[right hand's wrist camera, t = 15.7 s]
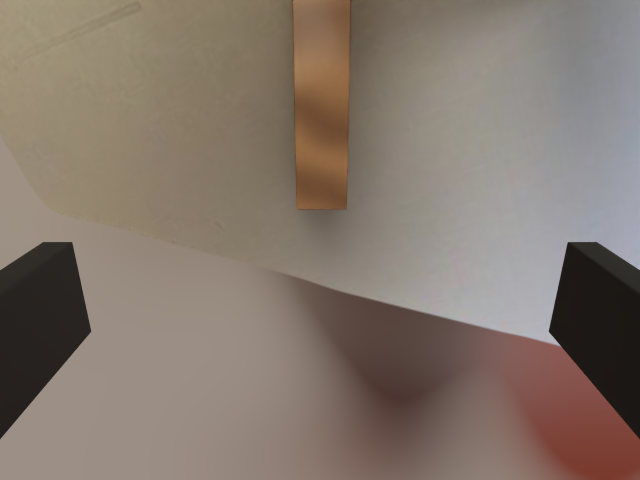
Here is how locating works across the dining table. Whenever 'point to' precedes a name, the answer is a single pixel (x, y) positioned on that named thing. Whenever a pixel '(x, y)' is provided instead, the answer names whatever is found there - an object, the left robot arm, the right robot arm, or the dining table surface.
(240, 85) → the dining table surface
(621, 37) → the dining table surface
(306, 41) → the beam
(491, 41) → the dining table surface
